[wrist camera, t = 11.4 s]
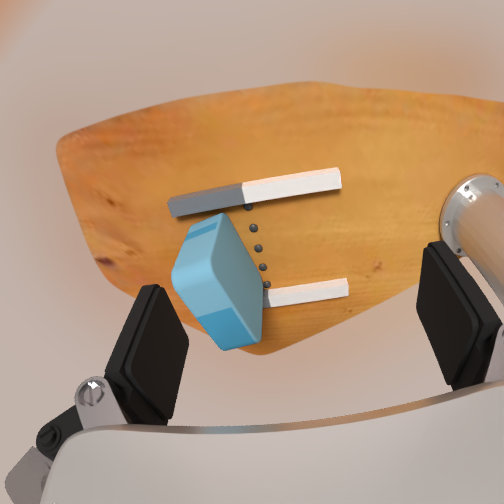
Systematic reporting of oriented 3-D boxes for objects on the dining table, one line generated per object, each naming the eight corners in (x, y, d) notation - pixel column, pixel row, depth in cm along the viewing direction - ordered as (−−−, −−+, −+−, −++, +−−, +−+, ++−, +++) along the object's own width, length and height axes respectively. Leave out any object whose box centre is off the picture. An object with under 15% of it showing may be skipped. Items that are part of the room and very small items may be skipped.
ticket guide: (337, 167, 35) (340, 171, 33) (346, 288, 44) (348, 295, 43) (170, 197, 38) (167, 202, 36) (211, 307, 47) (209, 314, 46)
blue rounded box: (192, 220, 39) (166, 280, 29) (223, 207, 38) (207, 265, 28) (234, 290, 45) (225, 357, 35) (263, 280, 44) (262, 348, 34)
